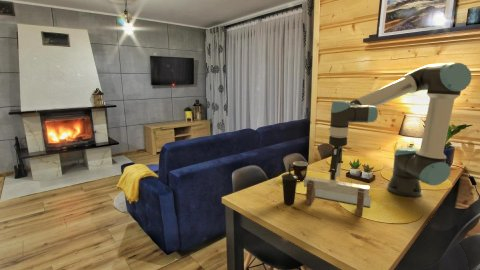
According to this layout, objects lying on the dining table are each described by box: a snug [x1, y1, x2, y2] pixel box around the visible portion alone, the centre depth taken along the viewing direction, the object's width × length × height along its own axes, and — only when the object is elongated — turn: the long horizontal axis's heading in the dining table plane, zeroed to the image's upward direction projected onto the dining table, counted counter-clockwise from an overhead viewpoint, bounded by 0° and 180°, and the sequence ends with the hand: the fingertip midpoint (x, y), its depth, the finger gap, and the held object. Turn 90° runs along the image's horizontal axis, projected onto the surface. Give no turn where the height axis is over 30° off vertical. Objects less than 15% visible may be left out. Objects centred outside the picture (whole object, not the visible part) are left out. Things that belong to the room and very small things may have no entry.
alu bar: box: [303, 175, 370, 198], centre depth 120 cm, size 28×4×4 cm, turn 62°
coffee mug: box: [288, 160, 309, 182], centre depth 155 cm, size 12×9×10 cm
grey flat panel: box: [315, 189, 372, 208], centre depth 133 cm, size 30×12×1 cm, turn 62°
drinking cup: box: [281, 163, 298, 206], centre depth 124 cm, size 8×8×20 cm
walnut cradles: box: [305, 182, 364, 217], centre depth 121 cm, size 24×8×11 cm, turn 62°
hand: (334, 181), depth 120 cm, fingers open, 13 cm apart
